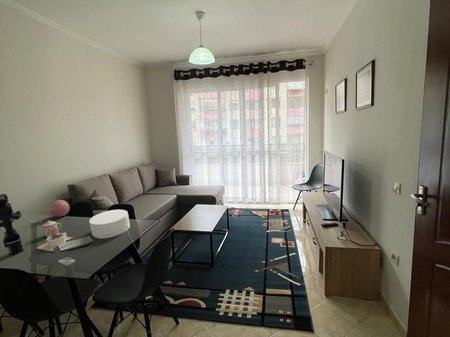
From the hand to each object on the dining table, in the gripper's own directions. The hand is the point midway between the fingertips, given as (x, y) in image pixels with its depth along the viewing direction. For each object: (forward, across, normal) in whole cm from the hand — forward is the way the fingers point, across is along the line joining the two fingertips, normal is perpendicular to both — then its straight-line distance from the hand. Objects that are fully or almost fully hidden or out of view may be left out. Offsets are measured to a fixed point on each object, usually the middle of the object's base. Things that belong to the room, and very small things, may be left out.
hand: (10, 231), depth 187 cm
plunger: (+11, -11, -32) cm, 35 cm away
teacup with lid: (+12, +10, -23) cm, 28 cm away
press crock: (+12, -11, -32) cm, 36 cm away
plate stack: (+12, -3, -67) cm, 69 cm away
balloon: (+12, +50, -15) cm, 54 cm away
